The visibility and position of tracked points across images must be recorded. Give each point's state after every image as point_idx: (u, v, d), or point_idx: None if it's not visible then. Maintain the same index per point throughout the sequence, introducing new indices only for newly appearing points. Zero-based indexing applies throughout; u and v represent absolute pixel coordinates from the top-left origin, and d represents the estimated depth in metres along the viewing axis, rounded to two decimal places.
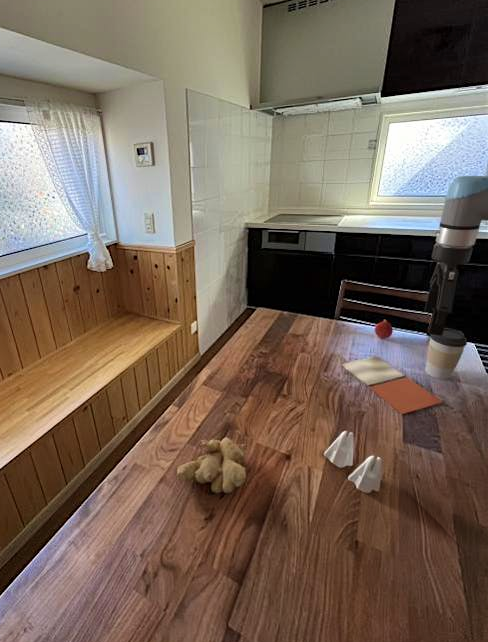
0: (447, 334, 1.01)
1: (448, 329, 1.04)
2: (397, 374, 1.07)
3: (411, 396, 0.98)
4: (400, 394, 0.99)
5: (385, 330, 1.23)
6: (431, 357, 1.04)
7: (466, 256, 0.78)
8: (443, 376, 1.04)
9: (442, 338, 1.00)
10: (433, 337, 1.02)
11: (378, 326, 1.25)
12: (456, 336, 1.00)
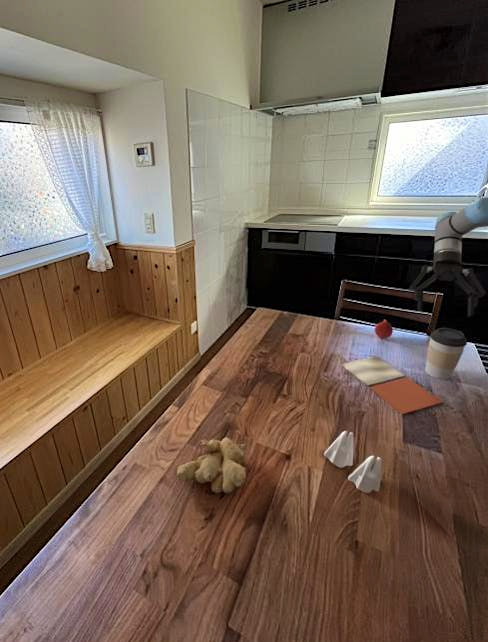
0: (447, 334, 1.01)
1: (448, 329, 1.04)
2: (397, 374, 1.07)
3: (411, 396, 0.98)
4: (400, 394, 0.99)
5: (385, 330, 1.23)
6: (431, 357, 1.04)
7: (439, 255, 1.13)
8: (443, 376, 1.04)
9: (442, 338, 1.00)
10: (433, 337, 1.02)
11: (378, 326, 1.25)
12: (456, 336, 1.00)
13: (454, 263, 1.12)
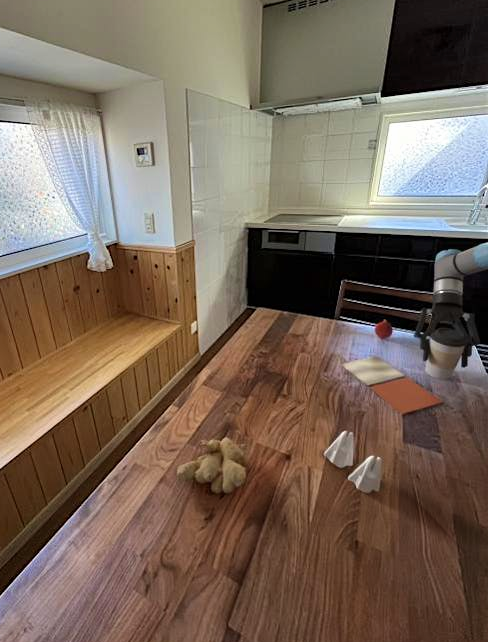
0: (447, 334, 1.01)
1: (448, 329, 1.04)
2: (397, 374, 1.07)
3: (411, 396, 0.98)
4: (400, 394, 0.99)
5: (385, 330, 1.23)
6: (431, 357, 1.04)
7: (439, 296, 1.07)
8: (443, 376, 1.04)
9: (442, 338, 1.00)
10: (433, 337, 1.02)
11: (378, 326, 1.25)
12: (456, 336, 1.00)
13: (455, 306, 1.06)
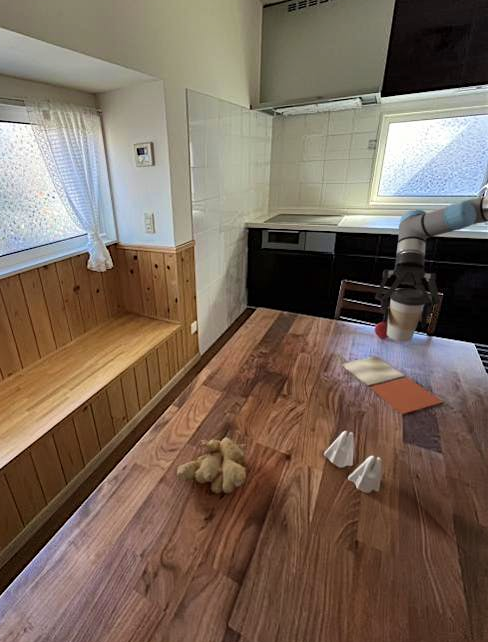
0: (406, 293, 0.98)
1: (408, 289, 1.00)
2: (397, 374, 1.07)
3: (411, 396, 0.98)
4: (400, 394, 0.99)
5: (385, 330, 1.23)
6: (391, 318, 1.01)
7: (401, 257, 1.04)
8: (403, 338, 1.01)
9: (401, 297, 0.97)
10: (392, 297, 0.99)
11: (378, 326, 1.25)
12: (415, 295, 0.97)
13: (416, 266, 1.02)
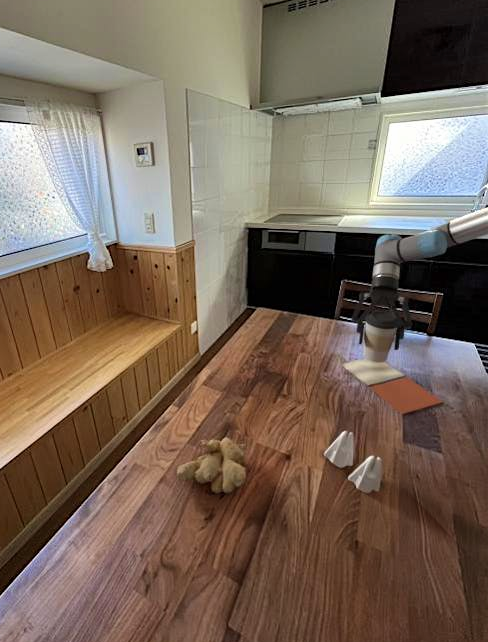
0: (380, 317, 1.02)
1: (383, 312, 1.04)
2: (397, 374, 1.07)
3: (411, 396, 0.98)
4: (400, 394, 0.99)
5: None
6: (366, 340, 1.05)
7: (376, 280, 1.08)
8: (378, 359, 1.05)
9: (374, 321, 1.01)
10: (367, 320, 1.03)
11: None
12: (388, 319, 1.01)
13: (391, 289, 1.06)
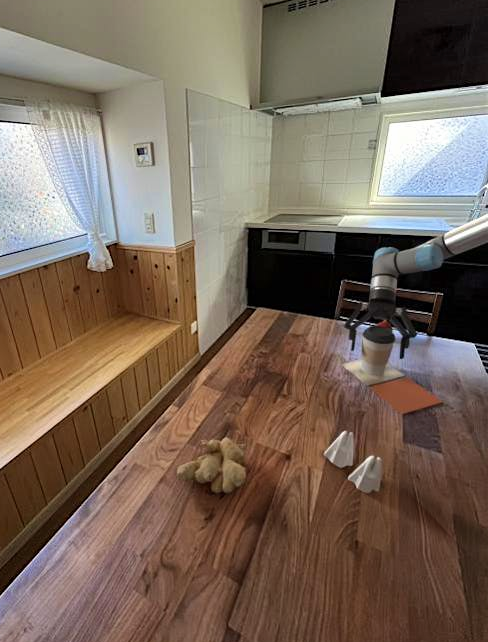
0: (377, 331, 1.04)
1: (379, 327, 1.07)
2: (397, 374, 1.07)
3: (411, 396, 0.98)
4: (400, 394, 0.99)
5: None
6: (364, 354, 1.07)
7: (374, 293, 1.10)
8: (375, 372, 1.07)
9: (371, 335, 1.03)
10: (364, 334, 1.05)
11: None
12: (385, 333, 1.03)
13: (388, 302, 1.08)
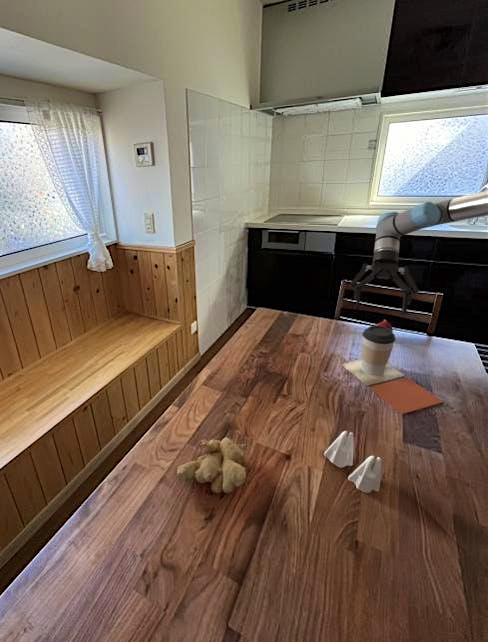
0: (377, 331, 1.04)
1: (379, 327, 1.07)
2: (397, 374, 1.07)
3: (411, 396, 0.98)
4: (400, 394, 0.99)
5: None
6: (364, 354, 1.07)
7: (377, 254, 1.16)
8: (375, 372, 1.07)
9: (371, 335, 1.03)
10: (364, 334, 1.05)
11: None
12: (385, 333, 1.03)
13: (391, 262, 1.14)
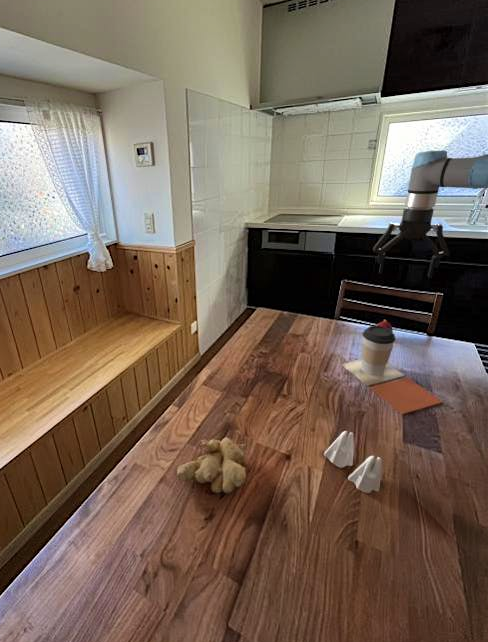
0: (377, 331, 1.04)
1: (379, 327, 1.07)
2: (397, 374, 1.07)
3: (411, 396, 0.98)
4: (400, 394, 0.99)
5: None
6: (364, 354, 1.07)
7: (407, 215, 1.00)
8: (375, 372, 1.07)
9: (371, 335, 1.03)
10: (364, 334, 1.05)
11: None
12: (385, 333, 1.03)
13: None
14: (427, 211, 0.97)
